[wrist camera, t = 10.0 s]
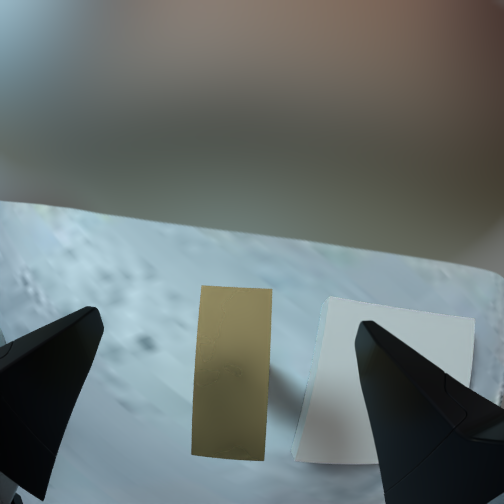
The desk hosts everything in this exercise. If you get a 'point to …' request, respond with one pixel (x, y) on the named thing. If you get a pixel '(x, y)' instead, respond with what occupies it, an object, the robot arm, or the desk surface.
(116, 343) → the desk surface
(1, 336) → the mug
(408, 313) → the cover plate
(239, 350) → the t key
